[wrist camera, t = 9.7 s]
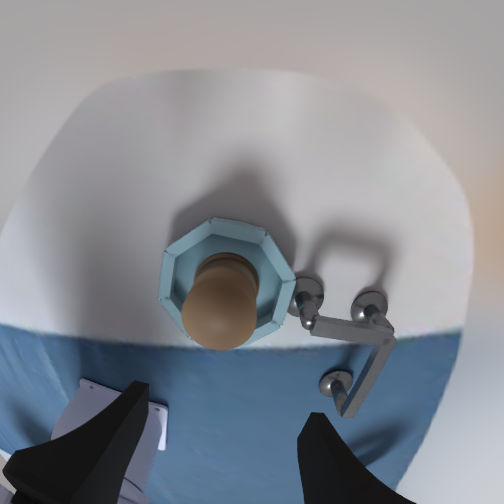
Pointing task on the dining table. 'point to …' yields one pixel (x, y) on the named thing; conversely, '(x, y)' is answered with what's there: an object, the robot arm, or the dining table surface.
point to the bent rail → (346, 339)
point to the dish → (235, 241)
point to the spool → (222, 302)
